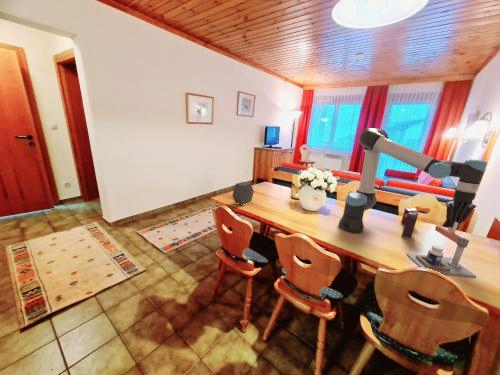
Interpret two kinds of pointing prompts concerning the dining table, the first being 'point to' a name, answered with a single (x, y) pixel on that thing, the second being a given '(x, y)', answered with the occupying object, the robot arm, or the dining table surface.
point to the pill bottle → (434, 255)
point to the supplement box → (409, 224)
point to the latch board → (444, 264)
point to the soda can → (406, 214)
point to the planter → (243, 193)
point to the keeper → (452, 236)
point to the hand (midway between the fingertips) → (450, 232)
